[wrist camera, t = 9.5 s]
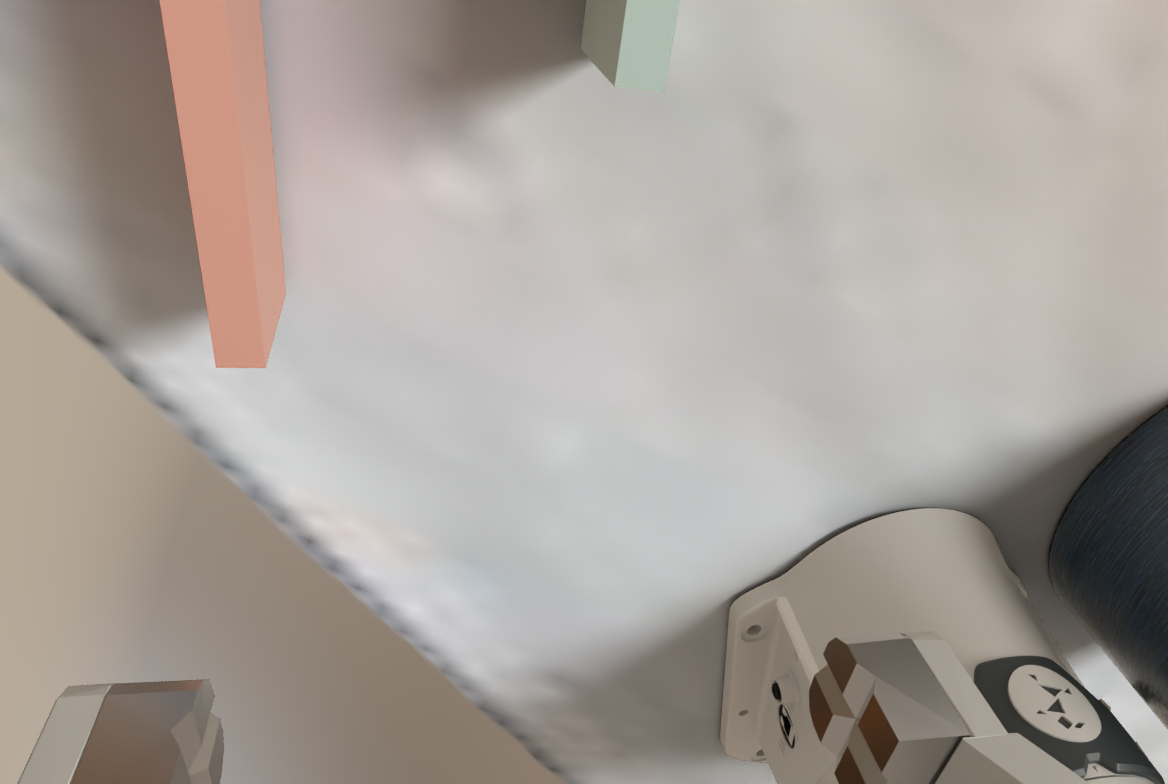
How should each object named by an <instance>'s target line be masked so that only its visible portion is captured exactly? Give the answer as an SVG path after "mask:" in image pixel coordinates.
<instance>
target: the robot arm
mask: <svg viewBox="0 0 1168 784" xmlns="http://www.w3.org/2000/svg"><path fill="white" fill-rule="evenodd" d="M1027 597H1028V592H1027V590H1026V588H1025V587H1024V585H1023V584H1022V582H1021V581H1020V579H1019V578H1018V576H1017V575H1016V574H1015V573H1013V572H1012V571H1011V570H1010V569H1009V568H1008V566H1007V563H1006V561H1005V559H1004V557H1003V555H1002V553H1001V551H1000V549H999V547H998V545H997V542H996V540H995V538H994V536H993V534H992V532H991V531H990V530H989V528H988V527H987V526H986V525H985V524H983V523H982V522H981V521H980V520H978V519H977V518H975V517H973V516H971V515H968V514H966V513H963V512H959V511H955V510H949V509H939V508H925V509H914V510H907V511H901V512H897V513H892V514H888V515H885V516H881V517H878V518H875V519H872V520H870V521H867V522H864V523H862V524H860V525H857V526H855V527H853V528H851V529H849V530H847V531H845V532H843V533H841V534H839V535H837V536H835V537H834V538H832V539H830V540H829V541H827V542H826V543H824V544H823V545H821V546H820V547H818V548H817V549H815V550H814V551H813V552H811V553H810V554H809V555H807V556H806V557H805V558H804V559H803V560H801V561H800V562H799V563H798V564H796V565H795V566H794V567H793V568H792V569H790V570H789V571H788V572H786V573H785V574H783V575H782V576H780V577H779V578H776V579H774V580H772V581H770V582H767V583H765V584H763V585H761V586H759V587H757V588H755V589H753V590H751V591H749V592H747V593H745V594H743V595H742V596H740V597H739V598H738V599H736V600H735V601H734V602H733V604H732V605H731V607H730V611H729V622H728V635H727V649H726V662H725V676H724V689H723V703H722V717H721V731H720V741H721V744H722V746H723V748H724V750H725V752H726V754H727V755H729V756H731V757H734V758H737V759H741V760H745V761H751V762H760V763H769V766H770V768H771V770H772V773H773V775H774V777H775V779H776V782H777V784H1165V783H1164V780H1163V778H1162V776H1161V775H1160V774H1159V772H1158V771H1157V770H1156V769H1155V767H1154V766H1153V765H1152V763H1151V762H1150V761H1149V759H1148V758H1147V756H1146V755H1145V753H1144V752H1143V750H1142V749H1141V748H1140V746H1139V745H1138V743H1137V742H1135V741H1134V740H1133V739H1132V737H1131V736H1130V735H1129V734H1128V732H1127V731H1126V730H1125V729H1124V728H1123V726H1122V725H1121V724H1120V723H1119V721H1118V720H1117V719H1116V718H1115V716H1114V715H1113V714H1112V713H1111V711H1110V710H1109V709H1108V708H1107V707H1106V706H1105V705H1104V704H1102V703H1101V702H1100V701H1099V700H1097V699H1096V698H1095V697H1094V696H1093V695H1092V694H1091V693H1090V692H1089V691H1087V690H1086V689H1085V688H1084V686H1083V685H1082V683H1081V681H1080V680H1079V678H1078V677H1077V675H1076V674H1075V672H1074V671H1073V669H1072V668H1071V666H1070V665H1069V663H1068V661H1067V660H1066V658H1065V657H1064V655H1063V654H1062V652H1061V651H1060V649H1059V648H1058V646H1057V645H1056V643H1055V642H1054V640H1053V639H1052V637H1051V636H1050V634H1049V632H1048V631H1047V629H1046V628H1045V626H1044V625H1043V623H1042V622H1041V620H1040V619H1039V617H1038V616H1037V614H1036V613H1035V611H1034V610H1033V608H1032V607H1031V605H1030V604H1029V602H1028V600H1027ZM214 697H215V695H214V692H213V689H212V685H211V682H210V679H204V680H183V681H161V682H160V681H159V682H139V683H138V682H137V683H111V684H95V685H78V686H68V687H67V688H66V689H65V691H64V692H63V693H62V694H61V695H60V696H59V697H58V699H57V700H56V701H55V703H54V706H53V708H52V710H51V712H50V714H49V717H48V718H47V721H46V723H45V725H44V727H43V729H42V732H41V734H40V736H39V738H38V740H37V742H36V745H35V747H34V749H33V751H32V753H31V755H30V757H29V760H28V762H27V764H26V766H25V768H24V770H23V772H22V775H21V777H20V779H19V781H18V783H17V784H219V783H220V779H221V774H222V764H223V754H224V737H223V728H222V724H221V719H220V718H218V717H217V716H215V715H214V714H212V713H211V709H212V705H213V701H214Z"/></svg>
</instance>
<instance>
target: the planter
mask: <svg viewBox="0 0 1168 784" xmlns="http://www.w3.org/2000/svg"><path fill="white" fill-rule="evenodd" d="M1049 570H1050V577H1051V581H1052V584H1053V587H1054V589H1055V591H1056V593H1057V595H1058V596H1059V598H1060V599H1061V600H1062V602H1063V603H1064V604H1065V606H1066V607H1067V608H1068V609H1069V610H1070V612H1071V613H1072V614H1073V615H1074V616H1075V617H1076V619H1077V620H1078V621H1079V622H1080V623H1081V625H1082V626H1083V627H1084V628H1085V629H1086V631H1087V632H1088V633H1089V634H1090V635H1091V637H1092V638H1093V639H1094V640H1095V641H1096V643H1097V644H1098V645H1099V646H1100V647H1101V649H1102V650H1103V651H1104V652H1105V654H1106V655H1107V656H1108V657H1109V658H1110V660H1111V661H1112V662H1113V663H1114V665H1115V666H1116V667H1117V668H1118V669H1119V671H1120V672H1121V673H1122V674H1123V675H1124V677H1125V678H1126V679H1127V680H1128V682H1129V683H1130V684H1131V685H1132V686H1133V688H1134V689H1135V690H1136V691H1137V693H1138V694H1139V695H1140V696H1141V697H1142V699H1143V700H1144V701H1145V702H1146V704H1147V705H1148V706H1149V707H1150V708H1151V710H1152V711H1153V712H1154V713H1155V715H1156V716H1157V717H1158V718H1159V719H1160V721H1161V722H1162V723H1163V724H1164V726H1165V727H1166V728H1167V729H1168V406H1167V407H1166V408H1164V409H1163V410H1161V411H1160V412H1159V413H1157V414H1156V415H1155V416H1153V417H1152V418H1151V419H1149V420H1148V421H1147V422H1145V423H1144V424H1143V425H1142V426H1140V427H1139V428H1138V429H1137V430H1136V431H1134V432H1133V433H1132V434H1131V435H1130V436H1129V437H1127V438H1126V439H1125V440H1124V441H1123V442H1122V443H1121V444H1120V445H1119V446H1118V447H1117V448H1116V449H1115V450H1114V451H1112V452H1111V453H1110V454H1109V455H1108V456H1107V458H1106V459H1105V460H1104V461H1103V462H1102V463H1101V464H1100V465H1099V466H1098V467H1097V468H1096V470H1095V471H1094V472H1093V473H1092V474H1091V475H1090V477H1089V478H1088V479H1087V480H1086V482H1085V483H1084V484H1083V485H1082V487H1081V488H1080V490H1079V491H1078V492H1077V494H1076V495H1075V497H1074V498H1073V500H1072V501H1071V503H1070V505H1069V506H1068V508H1067V510H1066V511H1065V513H1064V515H1063V517H1062V519H1061V521H1060V524H1059V526H1058V528H1057V531H1056V533H1055V536H1054V539H1053V543H1052V547H1051V551H1050V559H1049Z"/></svg>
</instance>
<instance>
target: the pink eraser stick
mask: <svg viewBox="0 0 1168 784" xmlns="http://www.w3.org/2000/svg"><path fill="white" fill-rule="evenodd" d="M160 7H161V13H162V20H163V26H164V33H165V39H166V46H167V52H168V59H169V65H170V72H171V78H172V85H173V91H174V98H175V104H176V111H177V117H178V124H179V130H180V137H181V143H182V150H183V156H184V163H185V169H186V176H187V182H188V189H189V195H190V202H191V208H192V215H193V221H194V228H195V234H196V241H197V247H198V254H199V260H200V267H201V273H202V280H203V286H204V293H205V299H206V306H207V312H208V319H209V325H210V332H211V338H212V345H213V351H214V358H215V364H216V368H266V365H267V361H268V358H269V354H270V350H271V347H272V343H273V339H274V336H275V332H276V328H277V325H278V321H279V317H280V314H281V310H282V306H283V302H284V299H285V295H286V287H285V275H284V264H283V253H282V242H281V231H280V220H279V209H278V197H277V186H276V175H275V164H274V153H273V142H272V131H271V120H270V108H269V97H268V86H267V75H266V64H265V53H264V42H263V31H262V19H261V8H260V0H160Z"/></svg>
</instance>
